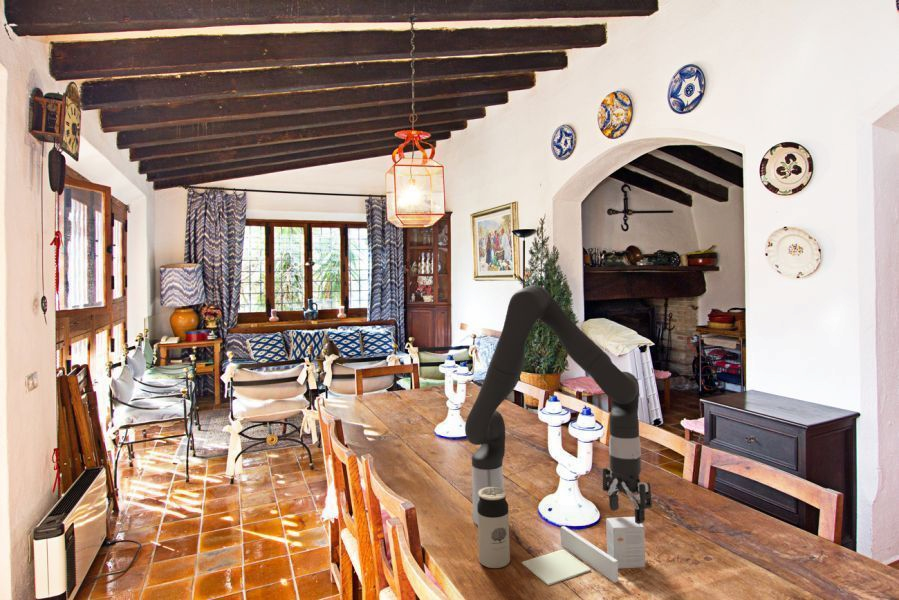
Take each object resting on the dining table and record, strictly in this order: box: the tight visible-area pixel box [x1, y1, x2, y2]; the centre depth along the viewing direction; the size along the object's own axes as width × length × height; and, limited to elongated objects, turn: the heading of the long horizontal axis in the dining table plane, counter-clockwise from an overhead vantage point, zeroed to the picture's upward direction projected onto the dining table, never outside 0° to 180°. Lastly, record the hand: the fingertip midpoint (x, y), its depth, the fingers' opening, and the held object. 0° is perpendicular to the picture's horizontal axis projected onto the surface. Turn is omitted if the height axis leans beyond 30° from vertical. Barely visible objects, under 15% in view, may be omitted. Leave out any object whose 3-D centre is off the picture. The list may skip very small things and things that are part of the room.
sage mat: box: [521, 548, 592, 586], centre depth 130 cm, size 11×13×1 cm
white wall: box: [560, 525, 619, 583], centre depth 132 cm, size 20×1×5 cm, turn 26°
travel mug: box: [477, 487, 511, 569], centre depth 133 cm, size 8×8×18 cm
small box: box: [605, 516, 646, 570], centre depth 131 cm, size 8×6×10 cm
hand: (626, 516), depth 130 cm, fingers open, 8 cm apart
